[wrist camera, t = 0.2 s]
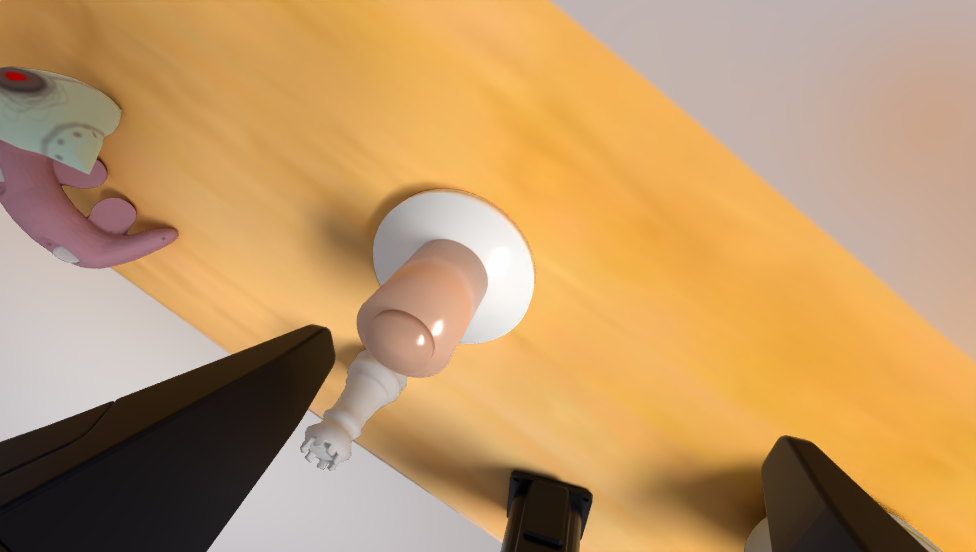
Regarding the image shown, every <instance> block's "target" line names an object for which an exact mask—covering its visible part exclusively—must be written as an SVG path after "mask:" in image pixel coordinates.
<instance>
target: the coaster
mask: <svg viewBox="0 0 976 552" xmlns="http://www.w3.org/2000/svg"><path fill="white" fill-rule="evenodd" d="M437 239H448V240H453V241H456V242H459V243H461V244H463V245H465V246H466V247H468V248H469V249H471V250H472V251H473V252H474V253H475V254H476V255H477V256H478V257H479V259H480V260H481V261H482V263H483V265H484V267H485V269H486V272H487V277H488V288H487V291H486V294H485V296H484V298H483V300H482V302H481V303H480V305H479V307H478V309H477V311H476V313H475V314H474V316H473V318H472V320H471V322H470V324H469V326H468V327H467V329H466V331H465V333H464V335H463V337H462V338H461V340H460V342H459V343H462V344H476V343H483V342H488V341H491V340H494V339H497V338H499V337H501V336H503V335H505V334H506V333H508V332H509V331H511V330H512V329H513V328H514V327H515V326H516V325H517V324H518V323H519V322H520V321H521V319H522V318H523V317H524V315H525V313H526V311H527V309H528V306H529V304H530V301H531V298H532V295H533V292H534V287H535V280H536V270H535V262H534V258H533V254H532V251H531V249H530V246H529V244H528V242H527V240H526V238H525V236H524V235H523V233H522V231H521V230H520V229H519V227H518V226H517V225H516V223H515V222H514V221H513V220H512V219H511V218H510V217H509V216H508V215H507V214H506V213H505V212H503V211H502V210H501V209H500V208H499V207H497V206H496V205H494V204H493V203H491V202H489V201H488V200H486V199H484V198H482V197H480V196H477V195H475V194H472V193H469V192H466V191H461V190H456V189H432V190H427V191H423V192H420V193H418V194H415V195H413V196H411V197H409V198H408V199H406V200H404V201H403V202H402V203H400V204H399V205H397V206H396V207H395V208H394V209H393V210H391V211H390V212H389V213H388V214H387V216H386V217H385V218H384V219H383V221H382V222H381V224H380V226H379V228H378V230H377V233H376V235H375V240H374V244H373V263H374V268H375V273H376V276H377V279H378V282H379V284H380V286H382V285H383V284H384V283H385V282H386V281H387V280H388V279H389V278H390V277H391V276H392V275H393V274H394V273H395V272H396V271H397V270H398V269H399V268H400V267H401V266H402V265H403V264H404V263H405V262H406V261H407V260H408V259H409V258H410V257H411V256H412V255H413V254H414V253H415V252H416V251H417V250H418V249H419V248H420V247H421V246H422V245H423V244H425V243H427V242H429V241H432V240H437Z"/></svg>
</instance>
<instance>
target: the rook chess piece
mask: <svg viewBox="0 0 976 552" xmlns="http://www.w3.org/2000/svg"><path fill="white" fill-rule="evenodd" d="M347 373H348V377H347V379H346V386H345V389H344V391H343V392H342V394H341V396H340V397H339V399H338V401H337V402H336V403H335V405H334V406H333V407H332V408H331V409H329V410H326V411H325V413H324V415H323V417H324V420H323V421H322V422H321V423H318V424H315V425H312V426H309V427H308V428H307V430H306V432H305V441H304V442H303V445H302V446H301V447H300V448H301V452H303V453H306V451H307V450H309V453H308V454H307V455H306V456H305V458H306V459H307V460H308V461H309V462H312V460H313V459H314V458H315V457H316V458H318V459H320V461H319V463H318V464H317V467H318V468H320V469H323V470H324V469H325V467H326V466H327V464H328V463H330V464H329V466H328V469H329V470H333V469H335V468H336V466H337V465H338V463H339V462H342V461H345V460H348V459H349V458H350V456H351V442H352V441H353V439H356V438H359V436H360V435H361V428H362V427H363V425H364V424H365V422H366V421H367V420H368V419H369V418H370V417H371V416H372V415H373V414H374V413H375V411H376V410H378V409H379V408H381V407H384V406H385V405H386V404H388V403H390V402H393V401H394V400H395V399H396V398H397V397H398V396H399V394H400V393H401V391H403V389H404V388H405V387H406V385H407V376H405V375H401V374H399V373H396V372H394V371H392V370H390V369H388V368H387V367H385V366H383V365H382V364H381V363H379V362H378V361H377V360H376V359H375V358H374V357H373V356H372V355H371V354H370V353H369V352H368V350H367V349H366V350H364V351H362V352H360V353H358V355H357V356H356V358H355V360H354V361H353V362H352V363H351V365H350V367H349V369H348V372H347Z"/></svg>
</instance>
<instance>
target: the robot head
mask: <svg viewBox="0 0 976 552" xmlns="http://www.w3.org/2000/svg"><path fill="white" fill-rule="evenodd" d="M121 114H122V111H121V109H120V108H119V107H118V106H117V105H116V104H115V102H114V101H113V100H112V99H111V98H109V97H108V96H106V95H105V94H104V93H102V92H101V91H100V90H98V89H96V88H94V87H92V86H90V85H88V84H86V83H84V82H81V81H79V80H77V79H75V78H72V77H68V76H65V75H61V74H57V73H53V72H49V71H44V70H36V69H28V68H20V67H12V66H11V67H3V68H0V140H3V141H5V142H7V143H9V144H11V145H14V146H16V147H18V148H20V149H24V150H28V151H32V152H36V153H39V154H42V155H45V156H48V157H50V158H52V159H55V160H57V161H59V162H61V163H64V164H66V165H68V166H70V167H73V168H75V169H77V170H79V171H82V172H84V173H86V174H89V175H90V173H91V170H92V168H93V166H94V164H95V161H96V159H97V157H98V155H99V152H100V150H101V148H102V146H103V141H104V137H106V136H108V135H109V134H111V133H113V131H114V130H115V129H116V128H117V127H118V125H119V121H120V118H121Z"/></svg>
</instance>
